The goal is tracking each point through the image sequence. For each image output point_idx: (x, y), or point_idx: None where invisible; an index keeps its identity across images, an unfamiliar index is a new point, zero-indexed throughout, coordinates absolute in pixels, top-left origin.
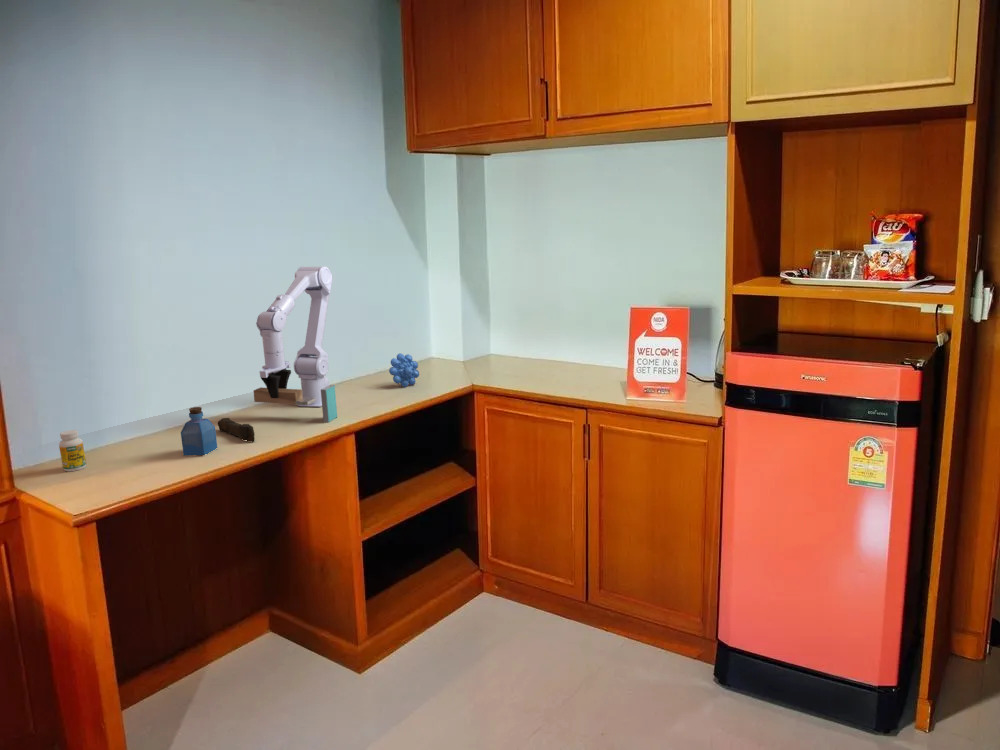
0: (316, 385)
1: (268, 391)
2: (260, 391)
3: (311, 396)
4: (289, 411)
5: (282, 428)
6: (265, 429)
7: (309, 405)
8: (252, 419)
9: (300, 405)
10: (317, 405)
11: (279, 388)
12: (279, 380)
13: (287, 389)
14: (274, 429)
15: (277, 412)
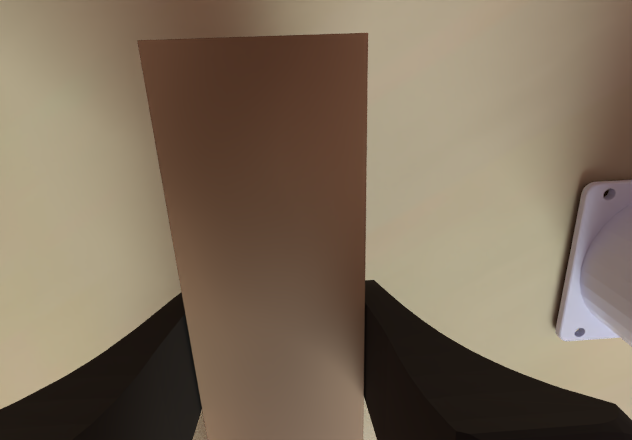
0: None
1: (184, 291)
2: (164, 170)
3: (627, 322)
4: (459, 190)
5: (76, 365)
6: (14, 283)
7: (572, 274)
8: (204, 23)
9: (583, 209)
10: (567, 324)
11: (362, 335)
12: (395, 425)
13: (333, 436)
14: (39, 334)
15: (428, 114)
